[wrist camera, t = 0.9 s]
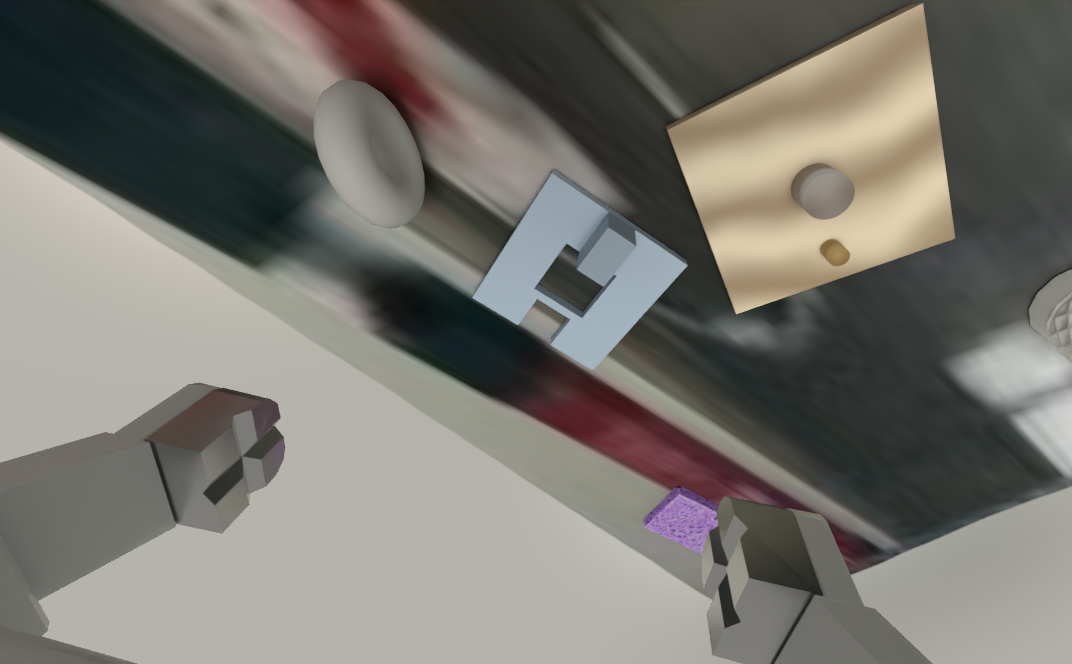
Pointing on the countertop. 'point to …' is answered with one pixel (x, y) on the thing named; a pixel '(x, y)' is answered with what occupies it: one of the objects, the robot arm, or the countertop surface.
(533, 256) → the flange plate
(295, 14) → the countertop surface
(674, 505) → the sponges
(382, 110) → the donut
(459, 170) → the countertop surface
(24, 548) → the robot arm
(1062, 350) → the white cup
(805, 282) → the post board
